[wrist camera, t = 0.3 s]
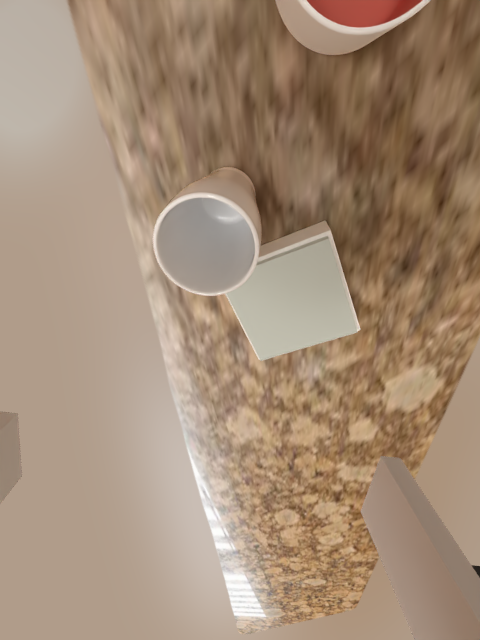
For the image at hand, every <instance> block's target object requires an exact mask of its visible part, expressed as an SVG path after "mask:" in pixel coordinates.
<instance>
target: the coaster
mask: <svg viewBox="0 0 480 640" xmlns="http://www.w3.org/2000/svg"><path fill="white" fill-rule="evenodd" d="M225 295H226V297H227V298H228V300H229V302H230V304H231V306H232V308H233V310H234V312H235V314H236V316H237V318H238V320H239V322H240V324H241V326H242V328H243V330H244V332H245V334H246V336H247V338H248V339H249V341H250V343H251V345H252V347H253V349H254V351H255V353H256V355H257V357H258V359H259V360H261V361H262V360H265V359H268V358H272V357H275V356H279V355H282V354H286V353H289V352H292V351H296V350H299V349H303V348H306V347H309V346H313V345H316V344H320V343H323V342H326V341H330V340H333V339H337V338H340V337H344V336H347V335H350V334H354V333H357V331H359V330H360V326H359V323H358V320H357V316H356V313H355V310H354V306H353V303H352V300H351V296H350V293H349V290H348V286H347V283H346V280H345V276H344V273H343V270H342V266H341V263H340V260H339V256H338V253H337V250H336V246H335V243H334V240H333V236H332V233H331V230H330V228H329V226H328V224H327V222H326V220H325V221H322V222H320V223H317V224H315V225H312V226H309V227H307V228H304V229H302V230H299V231H297V232H294V233H292V234H289V235H287V236H284V237H281V238H279V239H276V240H274V241H271V242H269V243H266V244H264V245H261V247H260V253H259V258H258V262H257V265H256V267H255V269H254V271H253V273H252V275H251V276H250V277H249V279H248V280H247V281H246V282H245V283H244V284H243V285H241V286H240V287H239V288H237V289H235V290H234V291H231V292H229V293H226V294H225Z"/></svg>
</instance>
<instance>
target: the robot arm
mask: <svg viewBox="0 0 480 640" xmlns="http://www.w3.org/2000/svg"><path fill="white" fill-rule="evenodd" d="M21 477H22V470H21V455H20V441H19V426H18V414H17V413H9V412H0V503H1V502H2V501H3V500H4V499H5V497H6V496H7V495H8V493H9V492H10V491H11V489H12V488H13V487H14V486H15V484H16V483H17V482H18V480H19V479H20V478H21ZM361 513H362V515H363V518H364V520H365V523H366V525H367V527H368V530H369V532H370V534H371V537H372V539H373V542H374V544H375V546H376V549H377V551H378V554H379V556H380V558H381V561H382V563H383V565H384V568H385V570H386V572H387V575H388V577H389V580H390V581H391V585H392V587H393V589H394V592H395V594H396V596H397V599H398V601H399V604H400V606H401V608H402V611H403V613H404V615H405V618H406V620H407V622H408V625H409V627H410V630H411V632H412V635H413V637H414V639H415V640H480V566H472V565H471V564H470V563H469V561H468V560H467V558H466V557H465V555H464V553H463V552H462V551H461V549H460V548H459V546H458V544H457V543H456V541H455V540H454V538H453V537H452V535H451V534H450V532H449V531H448V529H447V528H446V526H445V525H444V524H443V522H442V520H441V519H440V518H439V516H438V514H437V513H436V511H435V510H434V508H433V507H432V505H431V504H430V502H429V501H428V499H427V498H426V496H425V495H424V493H423V492H422V490H421V489H420V487H419V486H418V484H417V483H416V481H415V480H414V478H413V477H412V475H411V474H410V472H409V471H408V469H407V467H406V466H405V464H404V463H403V461H402V460H401V458H393V457H385V456H381V457H380V460H379V463H378V465H377V468H376V471H375V474H374V476H373V479H372V482H371V485H370V487H369V490H368V493H367V496H366V498H365V501H364V504H363V507H362V509H361Z"/></svg>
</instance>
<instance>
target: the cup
mask: <svg viewBox="0 0 480 640" xmlns="http://www.w3.org/2000/svg"><path fill="white" fill-rule="evenodd" d="M275 1H276V5H277V8H278V10H279V13H280V16H281V18H282V20H283V22H284V24H285V26H286V27H287V29H288V30H289V32H290V33H291V34H292V36H293V37H294V38H295V39H296V40H297V41H298V42H300V43H301V44H302V45H303V46H305V47H306V48H308V49H310V50H312V51H314V52H317V53H321V54H325V55H342V54H346V53H350V52H353V51H356V50H358V49H360V48H362V47H364V46H366V45H367V44H369V43H370V42H372V41H374V40H375V39H377V38H378V37H380V36H382V35H383V34H385V33H386V32H388V31H390V30H391V29H393V28H394V27H396V26H398V25H399V24H401V23H402V22H404V21H406V20H407V19H409V18H410V17H412V16H413V15H414V14H416V13H417V12H418V11H420V10H421V9H422V8H423V7H424V6H425V5H426V4H428V3H429V2H430V1H431V0H275Z"/></svg>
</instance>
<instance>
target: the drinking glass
mask: <svg viewBox="0 0 480 640" xmlns="http://www.w3.org/2000/svg"><path fill="white" fill-rule="evenodd" d="M261 237H262V228H261V219H260V213H259V210H258V206H257V202H256V193H255V188H254V185H253V183H252V181H251V179H250V178H249V177H248V176H247V175H246V174H245V173H244V172H243V171H241V170H239V169H237V168H233V167H222V168H219V169H216V170H214V171H213V172H211V173H210V174H209V175H207V176H205V177H203V178H201V179H199V180H197V181H194V182H193V183H191V184H189V185H188V186H186V187H185V188H183V189H182V190H181V191H180V192H179V193H177V194H176V195H175V196H174V197H173V198H172V200H171V201H170V202H169V203H168V204H167V206H166V207H165V208H164V210H163V211H162V212H161V214H160V215H159V217H158V219H157V221H156V224H155V227H154V231H153V249H154V253H155V257H156V260H157V262H158V264H159V266H160V268H161V269H162V271H163V272H164V273H165V275H166V276H167V277H168V278H169V279H170V280H171V281H172V282H173V283H175V284H176V285H177V286H179V287H180V288H182V289H184V290H186V291H188V292H191V293H194V294H198V295H204V296H217V295H222V294H226V293H229V292H231V291H234V290H235V289H237V288H239V287H240V286H241V285H243V284H244V283H245V282H246V281H247V280H248V279H249V277H250V276H251V275H252V273H253V271H254V269H255V267H256V265H257V262H258V258H259V253H260V247H261Z"/></svg>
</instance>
